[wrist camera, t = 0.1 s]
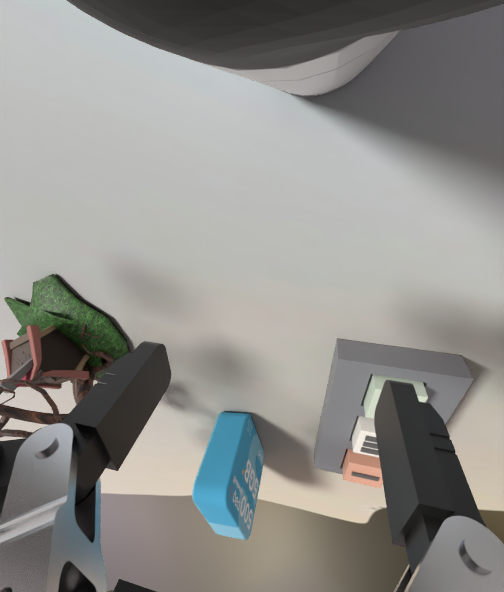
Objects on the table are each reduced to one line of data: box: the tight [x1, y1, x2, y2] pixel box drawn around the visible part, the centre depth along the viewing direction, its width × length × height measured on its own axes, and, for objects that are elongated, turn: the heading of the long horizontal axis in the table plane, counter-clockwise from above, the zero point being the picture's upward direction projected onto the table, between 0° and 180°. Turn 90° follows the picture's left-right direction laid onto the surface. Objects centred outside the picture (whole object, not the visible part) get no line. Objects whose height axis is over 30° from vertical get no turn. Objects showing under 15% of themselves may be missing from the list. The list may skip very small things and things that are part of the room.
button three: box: [352, 416, 379, 457], centre depth 33 cm, size 5×5×3 cm
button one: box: [342, 449, 383, 488], centre depth 37 cm, size 5×5×3 cm
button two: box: [363, 374, 428, 419], centre depth 29 cm, size 5×5×3 cm
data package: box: [192, 412, 264, 540], centre depth 40 cm, size 12×4×12 cm, turn 14°
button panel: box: [314, 339, 474, 474], centre depth 34 cm, size 22×12×3 cm, turn 1°
